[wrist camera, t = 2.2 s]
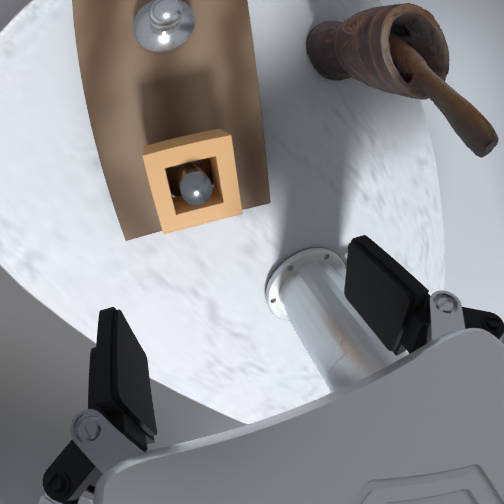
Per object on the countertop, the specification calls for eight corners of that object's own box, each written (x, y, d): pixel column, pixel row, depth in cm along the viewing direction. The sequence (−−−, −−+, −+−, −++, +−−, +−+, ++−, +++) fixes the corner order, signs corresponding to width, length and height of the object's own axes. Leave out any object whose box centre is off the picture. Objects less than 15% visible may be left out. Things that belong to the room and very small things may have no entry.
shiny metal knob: (208, 135, 26) (225, 149, 21) (217, 184, 29) (235, 212, 24) (154, 147, 25) (155, 166, 20) (166, 197, 28) (171, 228, 23)
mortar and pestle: (384, 85, 30) (525, 121, 14) (339, 120, 32) (485, 176, 15) (339, 8, 24) (491, -9, 8) (285, 40, 25) (441, 18, 9)
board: (237, -26, 19) (242, -32, 18) (264, 196, 34) (270, 203, 32) (76, 4, 16) (72, -1, 15) (127, 232, 31) (125, 240, 29)
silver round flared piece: (189, -1, 19) (201, -27, 13) (195, 47, 22) (209, 33, 16) (131, 10, 18) (125, -14, 12) (138, 59, 20) (132, 48, 15)
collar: (220, 128, 25) (231, 135, 21) (230, 197, 28) (242, 213, 25) (144, 146, 23) (142, 155, 20) (161, 214, 27) (163, 234, 24)
